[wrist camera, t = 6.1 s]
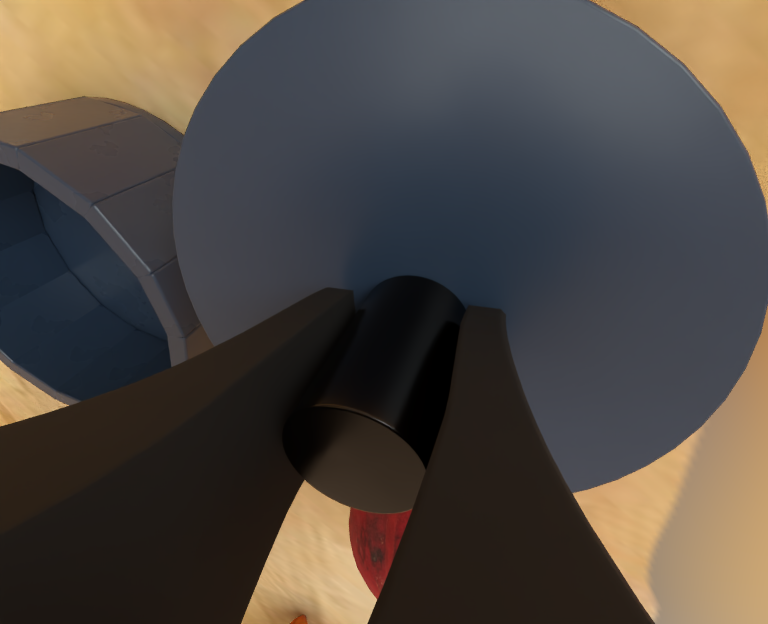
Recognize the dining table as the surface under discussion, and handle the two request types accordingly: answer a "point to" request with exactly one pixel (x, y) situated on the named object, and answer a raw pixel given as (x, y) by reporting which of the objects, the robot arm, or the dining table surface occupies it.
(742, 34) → the dining table surface
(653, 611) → the dining table surface
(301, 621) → the carrot
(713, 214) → the lid
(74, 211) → the pan
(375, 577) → the onion
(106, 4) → the dining table surface
